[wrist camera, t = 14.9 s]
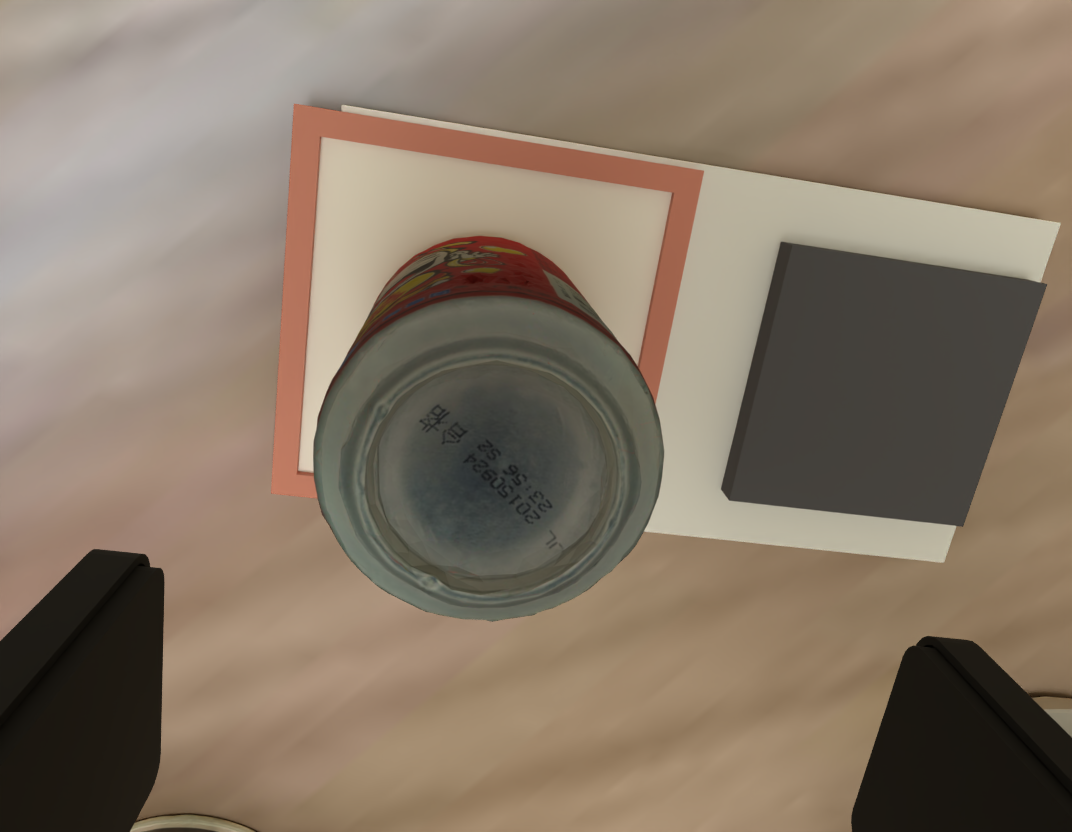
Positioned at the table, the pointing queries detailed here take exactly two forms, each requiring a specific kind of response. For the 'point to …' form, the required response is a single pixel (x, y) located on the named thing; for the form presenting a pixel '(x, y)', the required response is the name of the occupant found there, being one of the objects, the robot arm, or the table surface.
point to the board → (735, 318)
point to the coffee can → (187, 824)
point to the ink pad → (877, 385)
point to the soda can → (486, 437)
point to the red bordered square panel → (456, 212)
